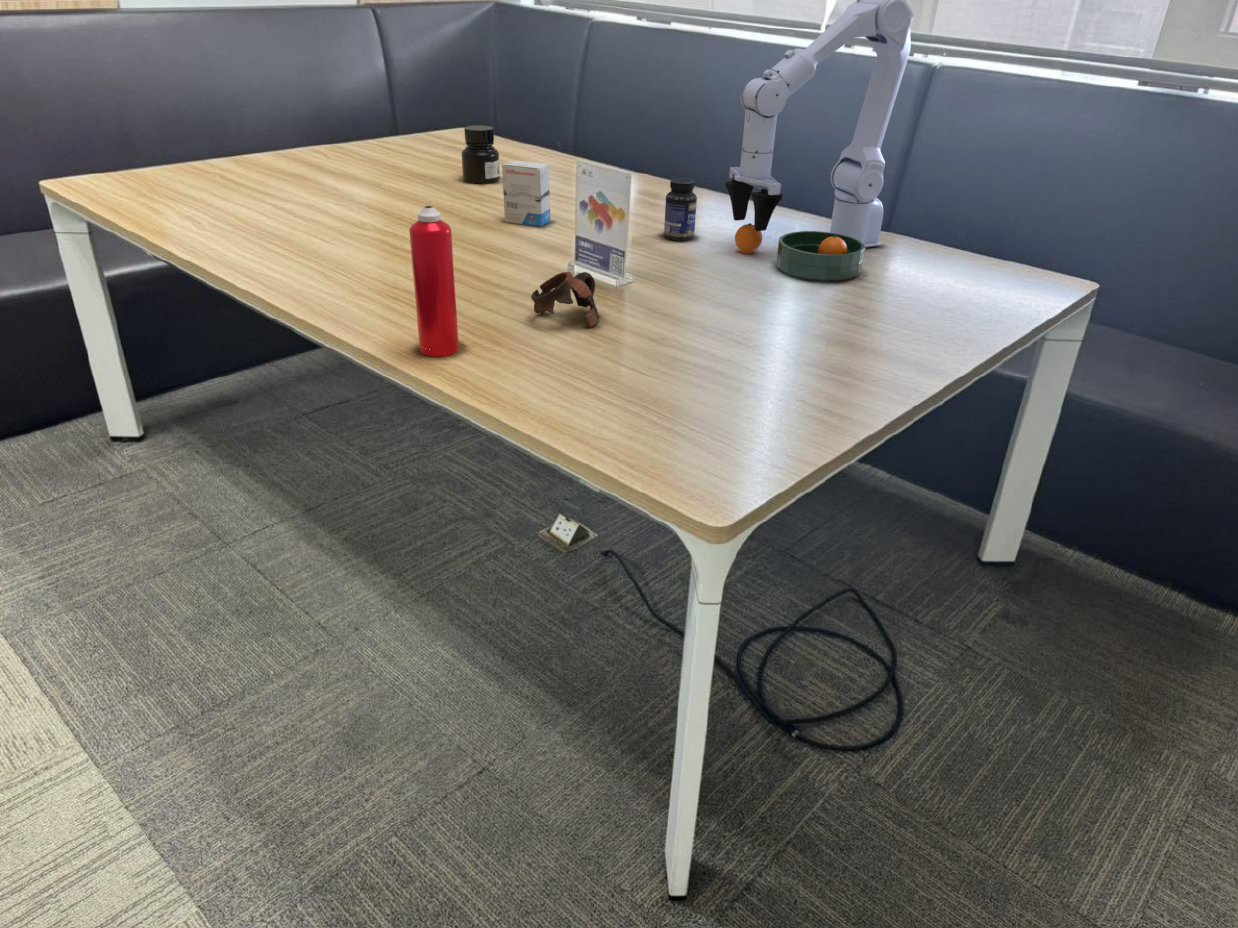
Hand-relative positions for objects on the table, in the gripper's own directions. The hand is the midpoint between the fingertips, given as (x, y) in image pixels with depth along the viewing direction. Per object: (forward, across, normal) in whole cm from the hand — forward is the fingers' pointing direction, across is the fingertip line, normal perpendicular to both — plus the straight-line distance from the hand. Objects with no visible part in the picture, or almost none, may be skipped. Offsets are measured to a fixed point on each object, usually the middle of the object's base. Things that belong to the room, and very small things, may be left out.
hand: (749, 225), depth 170 cm
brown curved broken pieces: (+6, +21, -45) cm, 50 cm away
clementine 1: (+5, 0, 0) cm, 5 cm away
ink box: (+6, -33, -33) cm, 47 cm away
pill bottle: (+5, -13, -8) cm, 16 cm away
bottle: (+6, +26, -67) cm, 72 cm away
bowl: (+5, +14, +7) cm, 16 cm away
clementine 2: (+4, +14, +9) cm, 17 cm away
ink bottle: (+5, -72, -31) cm, 79 cm away
